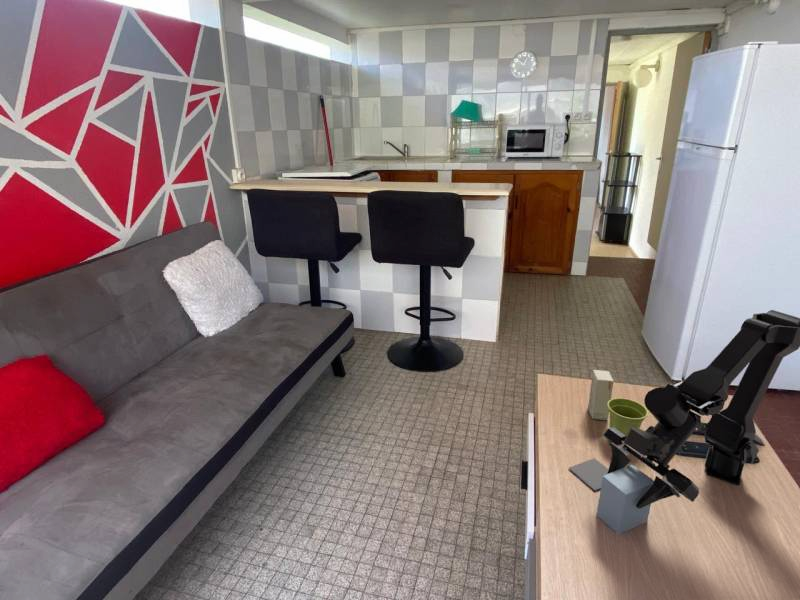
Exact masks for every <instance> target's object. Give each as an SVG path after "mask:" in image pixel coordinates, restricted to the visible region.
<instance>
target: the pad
mask: <svg viewBox="0 0 800 600" xmlns="http://www.w3.org/2000/svg"><path fill="white" fill-rule="evenodd" d="M568 470H569V471H570V472H571V473H572V474H574V476H576V477H577V478H578V479H579V480H580V481H582V482H583V483H584V484H585V485H586V486H588V487H589V489H591V490H592V491H594V492H596V491H599V490H600V491H601V485H602V479H603V476H604V475H607V473H608V470H609V467H606V465H604V463H602V462H600V461H599V460H597V459H596V458H595V457H593V458H592V459H588V460H586V461H583V462H580V463H577V464H575V465H572V466H570V467H568Z"/></svg>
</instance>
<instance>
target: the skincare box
mask: <svg viewBox="0 0 800 600" xmlns="http://www.w3.org/2000/svg"><path fill="white" fill-rule="evenodd" d="M590 383H591V385H590V391H589V397H588V403H587V404H588V405H587V408H588V412H589V414H590V417H591V419H593V420H602V421H608V420H609V416H610V412H609V408H608V406H607V404H608V401H609V400H611V399H612V395H613V394H612V393H613V388H614V378H613V376H612V374H611V373H610V371H608V370H600V369H593V370H592V377H591V382H590Z"/></svg>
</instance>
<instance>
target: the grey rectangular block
mask: <svg viewBox="0 0 800 600" xmlns="http://www.w3.org/2000/svg"><path fill="white" fill-rule="evenodd" d="M654 480H655V479H652V478H651V477H649V476H648V475H647V474H646V473H644V472H643V471H642V470H641V469H639V468H637V467H636V466H634V465H633V464H629V465H627V466H626V467H624V468H622V469H619V470H617V471H614V472H612V473H609V474H607V475H604V476H603V479H602V485H601V489H600V491H599V497H598V502H597V507H596V508H597V509H596V516H597V517H598V518H599V519H600V520H601V521H602V522H603V523H605V524H606V525H607V526H608V527H609V528H610V529H611V530H612V531H613V532H615V534H616V535H621V534H623V533H625V532H627V531H629V530H632V529H634V528H636V527H639V526H640V525H643V524H644V523H647V522H648V519H649V515H650V510H651V507H652V503H651V504H649V505H647V506H645V507H642V508H640V509H638V508H637V507H636V504H637V503H638V501H639V500H640V499H641V497H642V496H643V495H644V494H645V493H646V492H647V491H648V490H649V488H650V487H651V486H652V485H653V483H654Z"/></svg>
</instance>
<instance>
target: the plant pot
mask: <svg viewBox="0 0 800 600" xmlns="http://www.w3.org/2000/svg"><path fill="white" fill-rule="evenodd" d="M607 406H608V408H609V428H612V427H614V428H615V429H617V430H618V431H620V432H621V433H623V434H624V435H626V436H627V435H628V433H629V431H630V429H631V428H636V429H640V428H641V426H642V423H644V421H645V419H646V418H647V417H648V416H649V410H648V409H647V408H646V406H645V405H643V404H642V403H641V402H638V401H636V400H633V399H630V398H624V397H615V398H611V400H609V401H608V404H607Z"/></svg>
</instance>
